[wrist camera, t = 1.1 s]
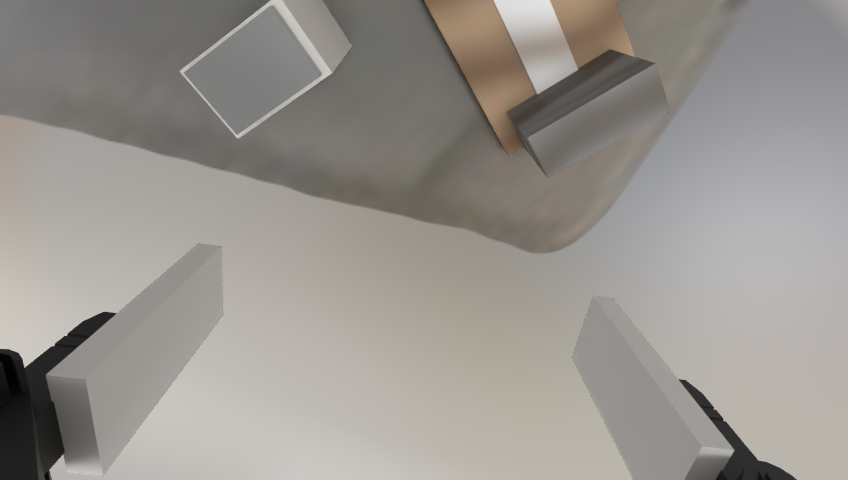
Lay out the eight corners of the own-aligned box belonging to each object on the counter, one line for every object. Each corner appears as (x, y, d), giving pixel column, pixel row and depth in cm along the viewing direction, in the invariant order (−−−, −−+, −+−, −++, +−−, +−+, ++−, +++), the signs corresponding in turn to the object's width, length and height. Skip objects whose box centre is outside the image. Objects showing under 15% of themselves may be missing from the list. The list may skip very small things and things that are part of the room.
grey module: (245, 44, 35) (173, 73, 24) (316, -10, 33) (274, -6, 22) (283, 94, 37) (233, 143, 26) (352, 46, 35) (330, 75, 24)
